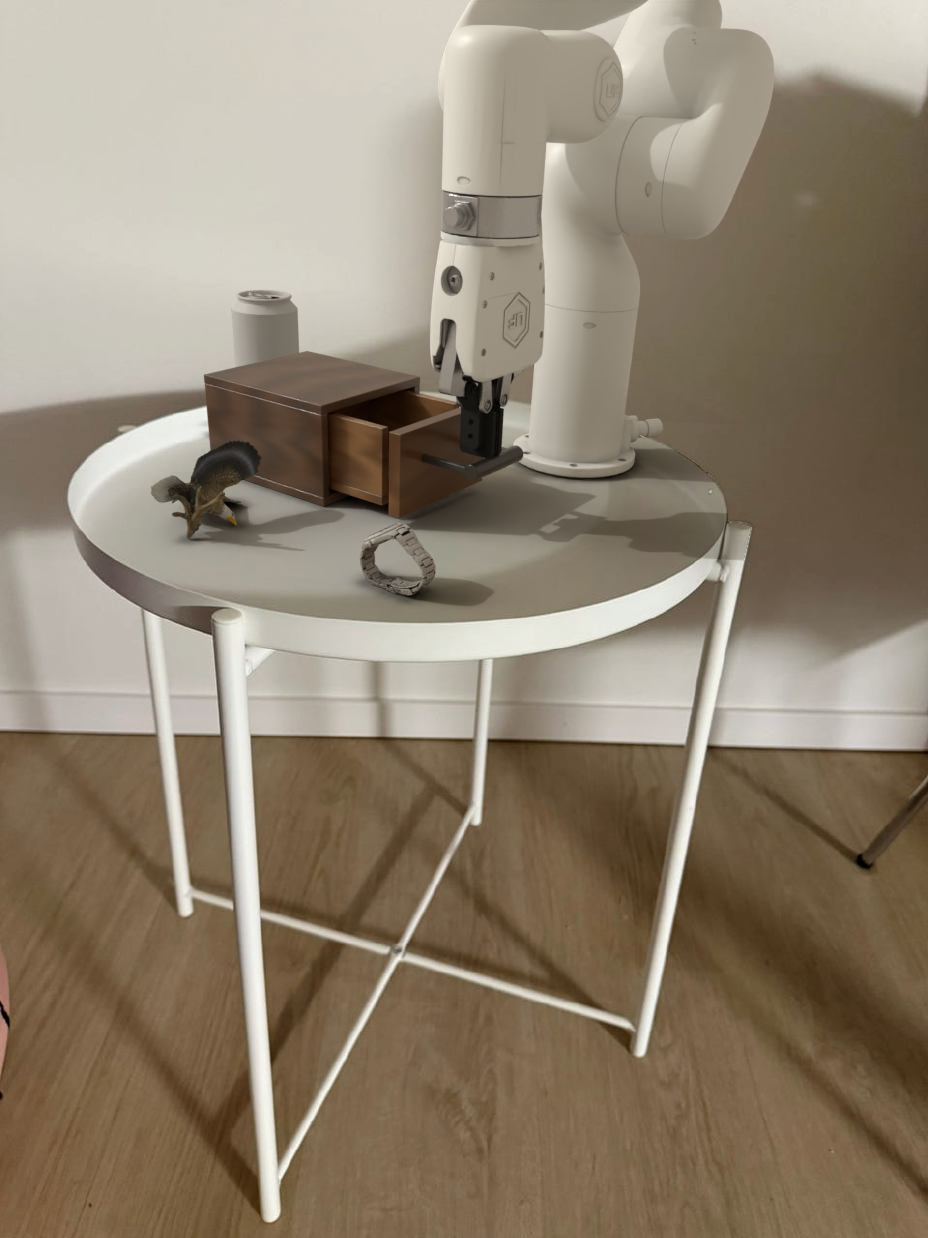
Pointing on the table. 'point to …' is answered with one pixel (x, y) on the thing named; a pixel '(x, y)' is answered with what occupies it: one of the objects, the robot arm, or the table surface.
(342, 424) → the drawer
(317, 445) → the cabinet
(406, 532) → the wristwatch
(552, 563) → the table surface
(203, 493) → the eagle figurine
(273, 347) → the can
